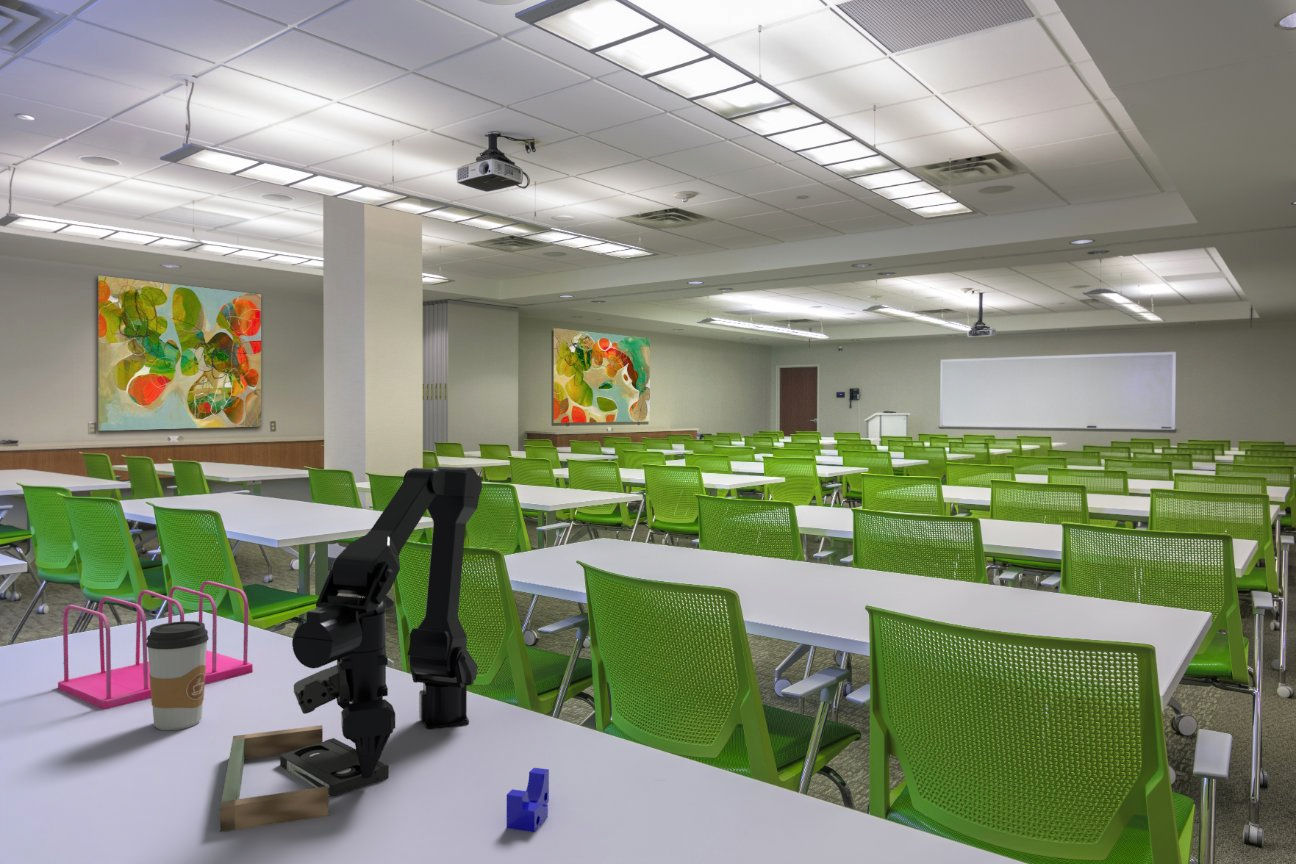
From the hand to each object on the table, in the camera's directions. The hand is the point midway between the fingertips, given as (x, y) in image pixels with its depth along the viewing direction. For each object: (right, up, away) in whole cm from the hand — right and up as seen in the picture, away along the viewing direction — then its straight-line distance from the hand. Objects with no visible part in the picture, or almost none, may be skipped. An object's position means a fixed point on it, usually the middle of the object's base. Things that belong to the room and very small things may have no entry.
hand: (363, 764), depth 115 cm
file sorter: (-48, 0, +37) cm, 61 cm away
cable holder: (+24, -2, -11) cm, 27 cm away
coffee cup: (-34, -1, +17) cm, 38 cm away
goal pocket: (-9, -1, -3) cm, 10 cm away
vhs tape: (-4, -2, 0) cm, 5 cm away
